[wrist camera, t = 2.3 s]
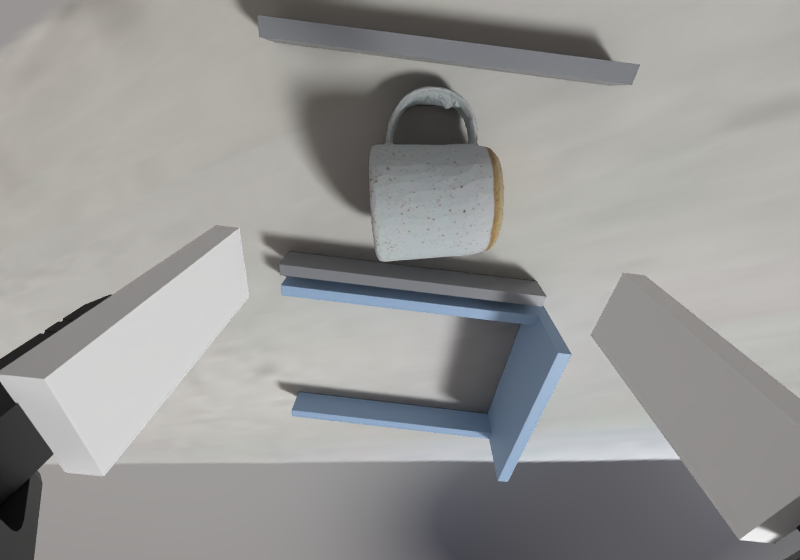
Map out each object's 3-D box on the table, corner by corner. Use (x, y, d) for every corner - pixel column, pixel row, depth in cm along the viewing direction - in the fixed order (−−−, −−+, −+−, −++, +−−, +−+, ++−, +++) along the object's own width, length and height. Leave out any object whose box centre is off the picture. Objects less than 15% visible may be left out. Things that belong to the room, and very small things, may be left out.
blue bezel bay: (540, 301, 30) (571, 354, 24) (493, 420, 38) (507, 481, 32) (290, 271, 30) (258, 317, 24) (299, 397, 38) (276, 455, 32)
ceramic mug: (482, 232, 27) (503, 276, 20) (384, 236, 28) (372, 281, 21) (490, 82, 22) (522, 74, 15) (369, 92, 22) (348, 89, 16)
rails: (617, 67, 21) (640, 64, 19) (533, 290, 29) (542, 306, 27) (274, 23, 21) (257, 15, 18) (290, 261, 29) (280, 275, 27)
